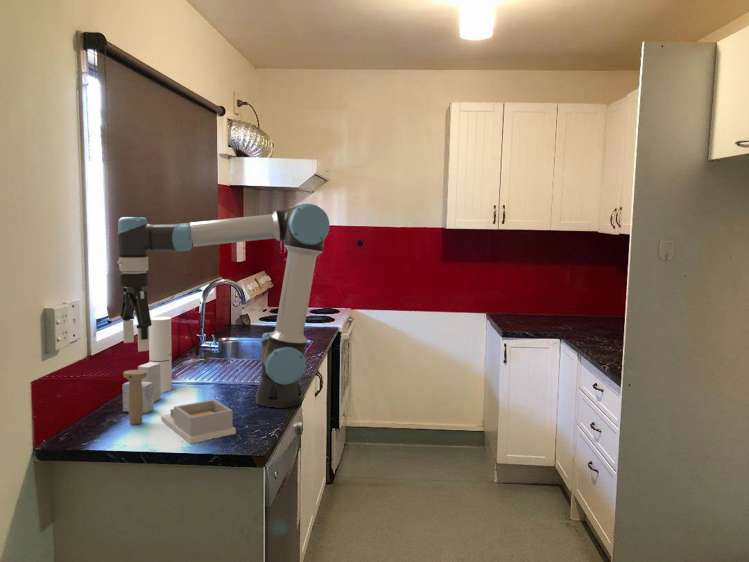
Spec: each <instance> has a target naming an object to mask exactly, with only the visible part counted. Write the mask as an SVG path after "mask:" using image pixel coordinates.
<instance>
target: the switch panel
mask: <svg viewBox="0 0 749 562" xmlns="http://www.w3.org/2000/svg"><path fill="white" fill-rule="evenodd" d="M206 411H212V412H214V413H209V414H204V415H198V416H193V417H192V416H191V415H190V414H195V413H200V412H206ZM233 411H234V410H233V409H231V408H229V407H228V406H227V405H225V404H223V403H221V402H219V401H218V400H216V399H209V400H204V401H198V402H194V403H193V402H191V403H187V404H186V403H185V404H181V405H177V406H176V405H175V406H173V408H171V409H170V411H169V412H170V413H168V414H163V415H160V420H161V422H162V423H163V424H164V425H166V426H168V428H169V429H171V430H172V431H174V433H176V434H177V435H179V436H180V437H181V438H182V439H183V440H185V441H186V442H187V443H188V444H190V445H191V444H195V443H200V442H204V441H210V440H213V438H214V439H218V438H222V436H223V437H225V436H226V437H227V436H232V435H236V434H237V433H236V432H237V429H236V427H235V426H233V415H234V414H233Z"/></svg>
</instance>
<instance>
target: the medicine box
mask: <svg viewBox="0 0 749 562" xmlns="http://www.w3.org/2000/svg"><path fill="white" fill-rule="evenodd" d="M142 395H143V414H147V413H149V412H151V411H153V410H154V409H155V408H154V407H155V404H154V402H155V401H153V383H152V382H142ZM128 400H129V381H127V382H124V383H123V384H122V412H128V413H129V410H128V409H129V408H128Z"/></svg>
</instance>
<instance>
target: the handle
mask: <svg viewBox="0 0 749 562" xmlns="http://www.w3.org/2000/svg"><path fill="white" fill-rule="evenodd" d="M122 375H123V378H125V379H126V380H128V382H129V400H128V408H129V409H128V410H129V412H128V417H129V423H130V424H131V425H140V424H142V423H143V414H144V413H143V395H142V379H143V378H145V377H146V376H147V371H144V370H138V369H129V370H124V371H123V373H122Z"/></svg>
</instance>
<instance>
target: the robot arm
mask: <svg viewBox="0 0 749 562" xmlns="http://www.w3.org/2000/svg"><path fill="white" fill-rule="evenodd" d="M147 220H148V219H147V217H141V216H140V217H137V216H135V217H134V216H122V217H120V218H119V219H118V221H117V223H118V227H117V228H118V229H117V231H118V232H117V239H118V240H117V242H118V243H117V244H118V260H117V261H116V263H117V265H119V266H118V267H119V271H120V273H119V275H118V276H119V278H118V279H119V286H120V287H122V297H121V306H120V313H119V317H120V318H121V319H122V330H123V333H122V334H123V343H124V344H129V343H135V336H134V335H135V334H134V328H135V327H136V329H137V350H138V352H139V353H140V352H147V351H149V326H151V325H152V323H151V314H150V309H149V303H148V293H147V291H146V290H143V287H147V286H149V273H148V271H149V256H148V252H155V251H156V252H179V253H180V252H187V251H191V249H192V248H194V247H203V246H204V247H205V246H212V245H213V246H214V245H223V244H231V243H240V242H241V243H243V242H251V241H259V240H260V241H261V240H269V239H270V240H271V239H276V240H277V241H278V242H280V241H284V245H283V246H284V248H285V249H286V250H287V256H286V263H285V268H284V274H283V279H282V280H283V281H282V286H281V287H282V288H281V293H280V300H279V304H278V311H277V316H276V324H275V327H274V330H273V331H270V332H269V331H268V332H264V333H263V334H262V335H261V340H260V344H261V367H260V368H261V371H260V372H261V373H260V375H261V378H260V382H259V384H258V387H257V391H256V393H255V403H256V405H258V404H259V405H258V406H260V405H261V406H260V407H263V406H266V407H265V408H269V407H275V408H274V409H280V408H281V409H283V408H284V409H285V408H291V407H295V406H298V405H300V404H301V403H302V402H303V392H302V388H301V386H300V382H299V380H300V379H301V378H302V376H303V375H304V374H305V371H306V368H307V367H306V365H307V364H306V362H307V361H306V357H305V356H306V352H307V351H306V349H307V344H308V339H307V338H306V337H305V335H304V331H305V325H306V320H307V314H308V310H309V308H308V307H309V304H310V297H311V292H312V285H313V279H314V274H315V268H316V261H317V257H318V256H320V254H322V253H323V250H324V246H325V245H324V244H325V239H326V238H327V236H328V234H329V231H330V220H329V217H328V214H327V213H326V211H325V210H324V209H323V208H321V207H320V206H318V205H316V204H313V203H308V202H307V203H302V204H299V205H296V206H292V207H290V208H286V209H281V210H279V209H278V210H274V211H273V212H272V213H271V214H262V215H261V214H260V215H250V216H243V217H231V218H223V219H211V220H201V221H191V222H181V223H170V224H169V223H168V224H152V223H151V224H150V223H148V221H147ZM134 314H135V316H136V321H137V325H136V326H135V327H134V320H135V316H134Z"/></svg>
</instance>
